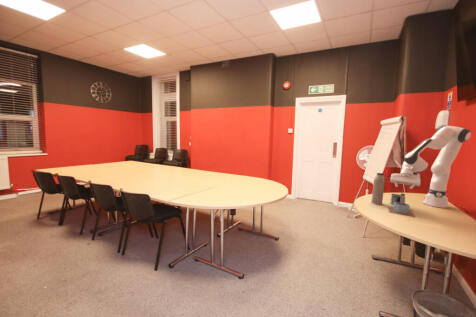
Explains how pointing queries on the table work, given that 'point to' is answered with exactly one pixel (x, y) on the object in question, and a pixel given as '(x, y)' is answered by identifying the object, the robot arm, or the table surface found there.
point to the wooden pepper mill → (378, 189)
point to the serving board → (401, 213)
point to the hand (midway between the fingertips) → (403, 187)
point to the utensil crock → (401, 208)
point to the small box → (396, 198)
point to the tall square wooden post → (401, 199)
